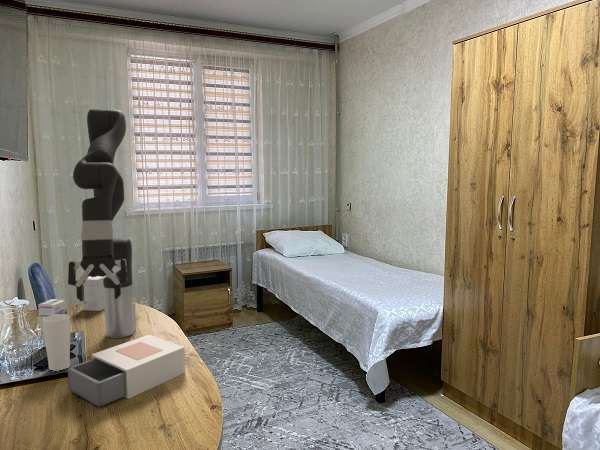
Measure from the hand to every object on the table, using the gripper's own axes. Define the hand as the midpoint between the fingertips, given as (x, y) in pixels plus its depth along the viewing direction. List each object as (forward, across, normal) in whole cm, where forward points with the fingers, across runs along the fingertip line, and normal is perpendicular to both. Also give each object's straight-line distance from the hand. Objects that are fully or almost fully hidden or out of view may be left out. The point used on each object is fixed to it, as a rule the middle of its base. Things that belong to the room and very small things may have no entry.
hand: (99, 299), depth 119 cm
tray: (+22, -4, +1) cm, 23 cm away
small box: (+13, +15, -70) cm, 73 cm away
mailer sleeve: (+22, -9, -3) cm, 24 cm away
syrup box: (+18, +20, -33) cm, 42 cm away
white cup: (+21, +14, -14) cm, 29 cm away
